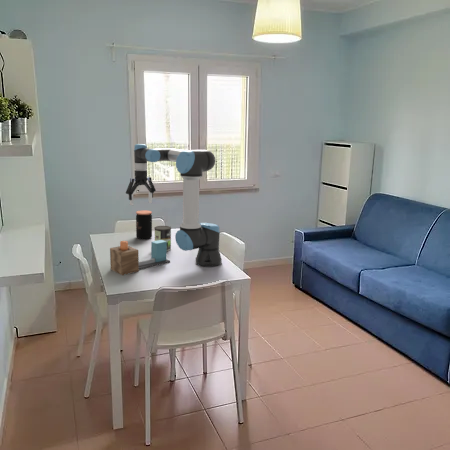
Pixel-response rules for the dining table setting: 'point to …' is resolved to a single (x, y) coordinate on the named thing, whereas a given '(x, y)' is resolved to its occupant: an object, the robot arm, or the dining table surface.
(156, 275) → the dining table surface
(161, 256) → the block
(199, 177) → the robot arm
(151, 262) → the rail
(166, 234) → the coffee can
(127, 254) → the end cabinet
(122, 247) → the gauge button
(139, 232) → the coffee jar
